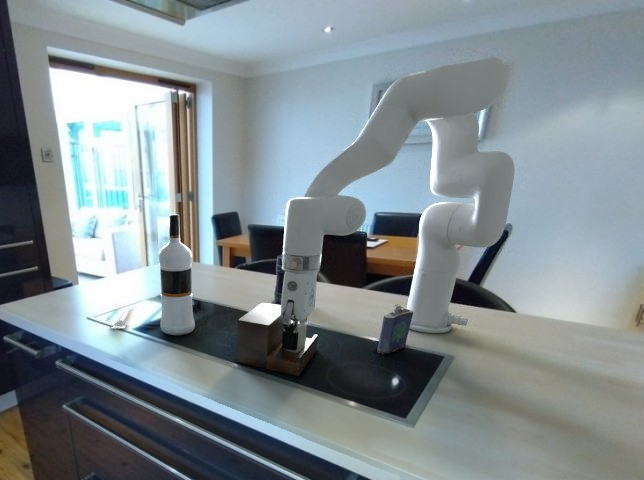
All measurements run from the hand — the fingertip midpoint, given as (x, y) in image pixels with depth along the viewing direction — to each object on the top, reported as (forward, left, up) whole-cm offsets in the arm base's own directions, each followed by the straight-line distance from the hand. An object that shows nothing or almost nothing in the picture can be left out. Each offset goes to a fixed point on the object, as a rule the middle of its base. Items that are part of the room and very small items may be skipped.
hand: (293, 343), depth 86 cm
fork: (+51, -2, -4) cm, 51 cm away
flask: (-19, -17, -4) cm, 26 cm away
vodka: (+32, -3, -4) cm, 33 cm away
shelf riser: (+3, 0, -4) cm, 5 cm away
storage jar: (+13, -40, -4) cm, 42 cm away
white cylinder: (0, 0, -1) cm, 1 cm away
